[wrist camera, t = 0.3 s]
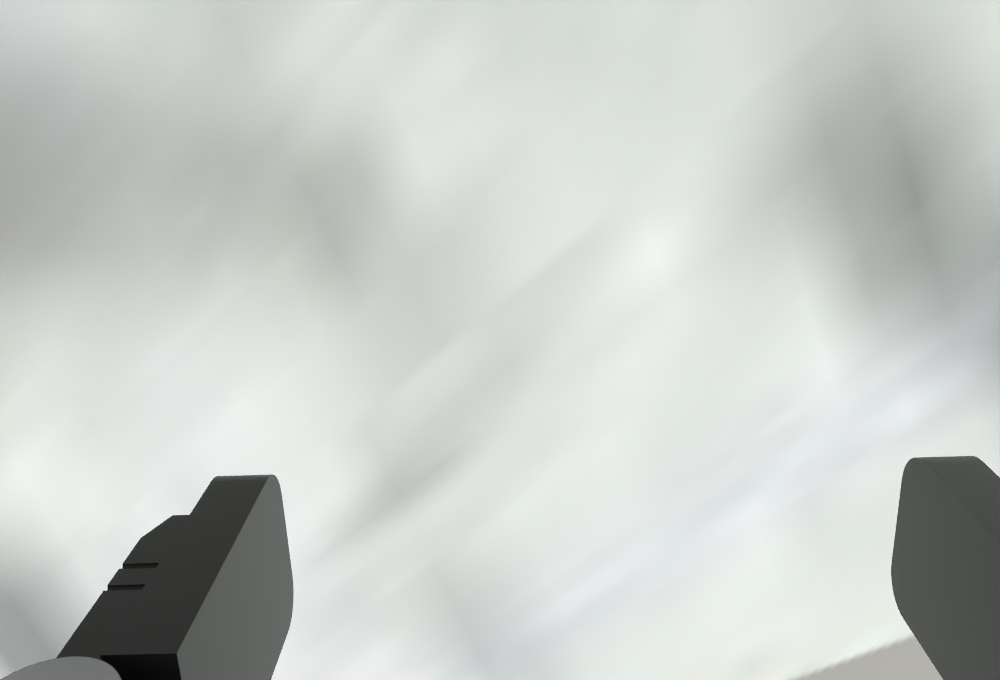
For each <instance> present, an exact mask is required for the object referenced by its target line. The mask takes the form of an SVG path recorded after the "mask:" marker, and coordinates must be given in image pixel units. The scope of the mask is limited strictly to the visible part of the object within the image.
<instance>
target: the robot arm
mask: <svg viewBox="0 0 1000 680" xmlns="http://www.w3.org/2000/svg"><path fill="white" fill-rule="evenodd" d="M891 576H892V586H893V592H894V596H895V600H896V603H897V606H898V609H899V611H900V613H901V615H902V617H903V618H904V620H905V622H906V623H907V625H908V626H909V628H910V629H911V631H912V632H913V634H914V635H915V637H916V638H917V640H918V641H919V643H920V644H921V646H922V647H923V649H924V651H925V652H926V654H927V655H928V657H929V658H930V660H931V661H932V663H933V664H934V666H935V667H936V669H937V670H938V672H939V674H940V675H941V676H942V678H943V680H1000V478H999V477H998V476H997V475H996V474H995V473H994V472H993V471H992V470H991V469H990V468H989V467H988V466H987V465H986V464H985V463H984V462H982V461H981V460H980V459H979V458H977V457H975V456H957V457H922V458H912V459H910V460H909V461H908V463H907V464H906V466H905V468H904V472H903V477H902V484H901V492H900V500H899V508H898V516H897V524H896V532H895V540H894V549H893V557H892V566H891ZM292 609H293V578H292V570H291V562H290V555H289V547H288V539H287V532H286V524H285V517H284V509H283V501H282V494H281V489H280V485H279V482H278V479H277V478H276V476H275V475H245V476H217V477H215V478H214V479H213V480H212V481H211V483H210V484H209V486H208V487H207V489H206V490H205V492H204V494H203V495H202V497H201V498H200V500H199V501H198V503H197V504H196V506H195V508H194V509H193V511H192V512H191V514H190V515H173V516H171V517H170V518H169V519H167V520H166V521H164V522H163V523H161V524H160V525H159V526H157V527H156V528H154V529H153V530H152V531H150V532H149V533H147V534H146V535H145V536H143V537H142V538H141V539H140V540H139V541H138V543H137V544H136V546H135V547H134V549H133V550H132V551H131V553H130V554H129V556H128V557H127V559H126V560H125V561H124V563H123V569H119V570H118V571H117V573H116V574H115V576H114V577H113V578H112V580H111V581H110V583H109V584H108V590H107V591H103V593H102V594H101V595H100V597H99V598H98V600H97V601H96V603H95V604H94V605H93V607H92V608H91V610H90V611H89V612H88V614H87V615H86V617H85V618H84V620H83V621H82V622H81V624H80V625H79V627H78V628H77V629H76V631H75V632H74V634H73V635H72V637H71V638H70V639H69V641H68V642H67V644H66V645H65V647H64V648H63V649H62V651H61V652H60V654H59V655H58V656H57V658H55V659H50V660H46V661H42V662H39V663H36V664H33V665H30V666H27V667H24V668H22V669H20V670H18V671H15V672H13V673H11V674H9V675H8V676H6V677H4V678H2V679H0V680H271V678H272V675H273V672H274V669H275V666H276V664H277V661H278V658H279V655H280V653H281V650H282V647H283V644H284V641H285V639H286V636H287V633H288V630H289V627H290V622H291V617H292Z"/></svg>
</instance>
